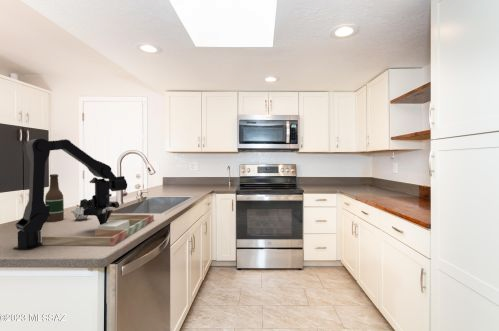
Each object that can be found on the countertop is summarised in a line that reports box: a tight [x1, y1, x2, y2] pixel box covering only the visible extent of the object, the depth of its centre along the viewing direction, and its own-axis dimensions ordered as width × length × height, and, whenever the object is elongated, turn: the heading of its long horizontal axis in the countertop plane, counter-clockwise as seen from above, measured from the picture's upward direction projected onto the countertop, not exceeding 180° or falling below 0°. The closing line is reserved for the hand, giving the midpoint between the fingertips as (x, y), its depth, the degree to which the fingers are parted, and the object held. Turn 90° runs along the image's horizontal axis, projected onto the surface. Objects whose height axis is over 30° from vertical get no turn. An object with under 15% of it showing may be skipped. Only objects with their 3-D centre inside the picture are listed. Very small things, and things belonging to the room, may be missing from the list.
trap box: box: [41, 213, 155, 247], centre depth 120 cm, size 40×27×3 cm
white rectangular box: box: [97, 220, 130, 230], centre depth 120 cm, size 11×8×4 cm
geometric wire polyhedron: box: [71, 204, 89, 221], centre depth 140 cm, size 9×8×10 cm
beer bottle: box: [44, 173, 65, 223], centre depth 138 cm, size 8×8×24 cm
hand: (102, 227), depth 120 cm, fingers closed
